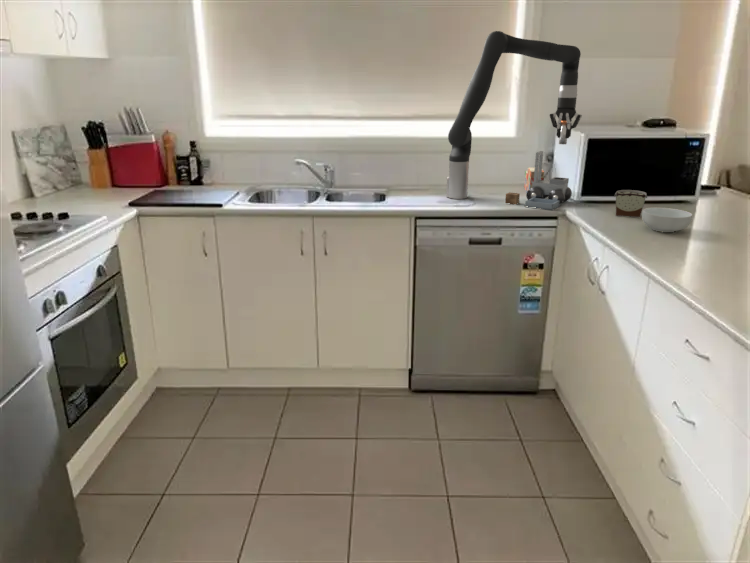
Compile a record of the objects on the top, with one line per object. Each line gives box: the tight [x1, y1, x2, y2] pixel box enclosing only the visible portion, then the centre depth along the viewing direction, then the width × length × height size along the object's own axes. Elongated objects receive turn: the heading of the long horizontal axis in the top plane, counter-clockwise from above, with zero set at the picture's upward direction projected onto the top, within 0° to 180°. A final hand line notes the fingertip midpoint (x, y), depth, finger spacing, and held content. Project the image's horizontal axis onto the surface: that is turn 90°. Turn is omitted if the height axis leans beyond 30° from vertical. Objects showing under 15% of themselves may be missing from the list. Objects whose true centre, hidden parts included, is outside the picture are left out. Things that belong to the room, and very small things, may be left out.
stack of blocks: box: [523, 166, 545, 192], centre depth 284 cm, size 21×6×12 cm, turn 173°
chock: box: [505, 191, 521, 205], centre depth 263 cm, size 5×4×4 cm
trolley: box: [525, 150, 573, 206], centre depth 261 cm, size 17×12×22 cm
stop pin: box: [558, 120, 568, 145], centre depth 252 cm, size 4×4×10 cm
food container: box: [613, 189, 648, 218], centre depth 238 cm, size 12×6×10 cm, turn 71°
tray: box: [524, 198, 561, 211], centre depth 255 cm, size 12×9×3 cm
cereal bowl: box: [641, 206, 693, 233], centre depth 215 cm, size 17×17×7 cm
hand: (563, 137), depth 253 cm, fingers closed on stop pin, 3 cm apart
